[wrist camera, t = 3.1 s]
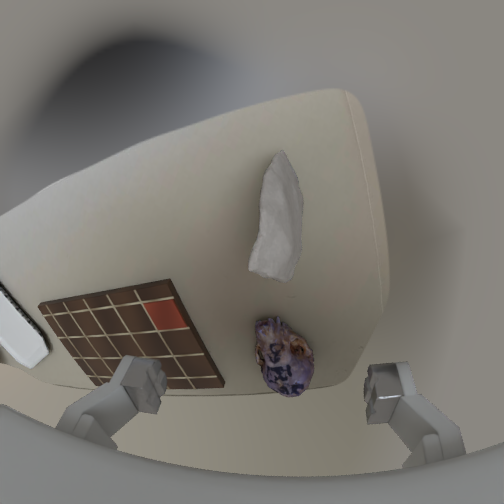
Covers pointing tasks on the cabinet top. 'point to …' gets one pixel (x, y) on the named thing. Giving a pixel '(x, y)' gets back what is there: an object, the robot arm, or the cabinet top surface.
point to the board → (133, 333)
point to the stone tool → (278, 222)
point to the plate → (20, 333)
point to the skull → (283, 358)
